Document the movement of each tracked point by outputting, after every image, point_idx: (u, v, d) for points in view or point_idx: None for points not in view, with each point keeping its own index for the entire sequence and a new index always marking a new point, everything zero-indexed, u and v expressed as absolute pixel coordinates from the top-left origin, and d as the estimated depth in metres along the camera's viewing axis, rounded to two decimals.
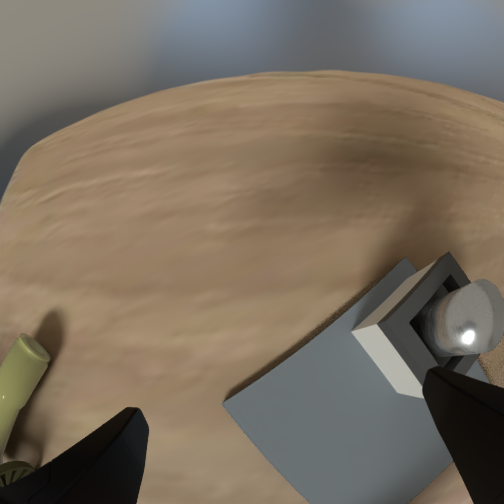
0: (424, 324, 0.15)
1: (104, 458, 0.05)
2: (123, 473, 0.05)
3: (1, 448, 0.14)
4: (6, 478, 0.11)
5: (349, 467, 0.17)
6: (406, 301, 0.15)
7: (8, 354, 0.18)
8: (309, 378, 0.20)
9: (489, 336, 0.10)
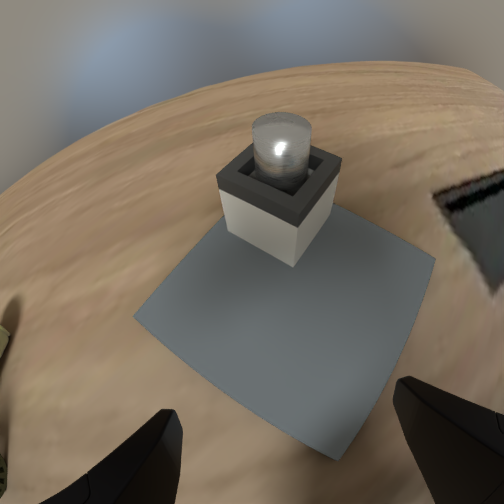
0: (255, 171, 0.21)
1: (146, 465, 0.05)
2: (163, 479, 0.05)
3: None
4: None
5: (274, 353, 0.20)
6: (232, 161, 0.21)
7: None
8: (200, 274, 0.24)
9: (291, 134, 0.17)
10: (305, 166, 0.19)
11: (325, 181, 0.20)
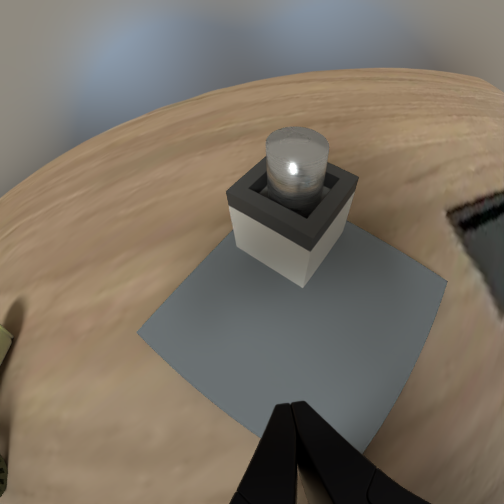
0: None
1: (296, 464, 0.05)
2: None
3: None
4: None
5: (280, 377, 0.19)
6: (243, 177, 0.20)
7: None
8: (207, 291, 0.23)
9: (307, 153, 0.16)
10: (320, 186, 0.18)
11: (340, 202, 0.19)
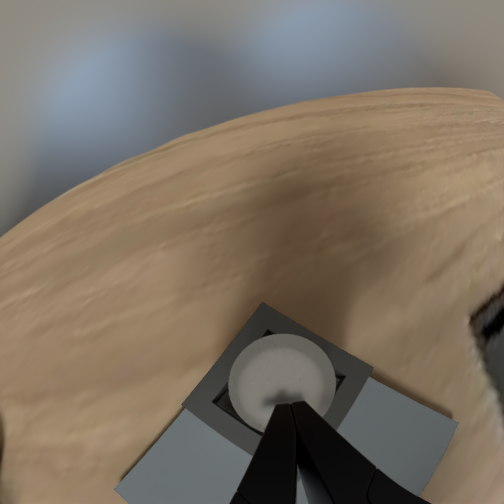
0: None
1: (296, 464, 0.05)
2: None
3: None
4: None
5: None
6: (204, 378, 0.13)
7: None
8: (180, 461, 0.16)
9: None
10: None
11: (342, 419, 0.12)
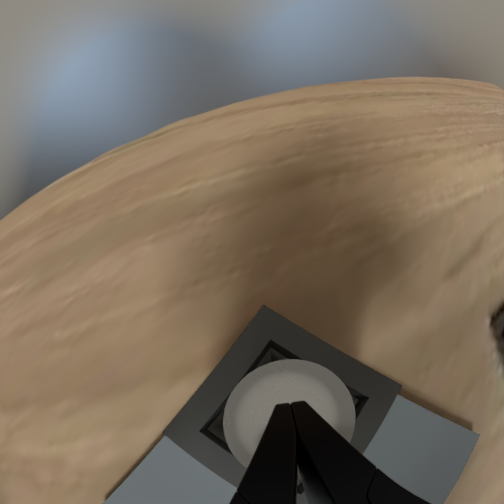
0: None
1: (296, 464, 0.05)
2: None
3: None
4: None
5: None
6: (189, 401, 0.10)
7: None
8: (169, 483, 0.13)
9: None
10: None
11: (363, 449, 0.08)
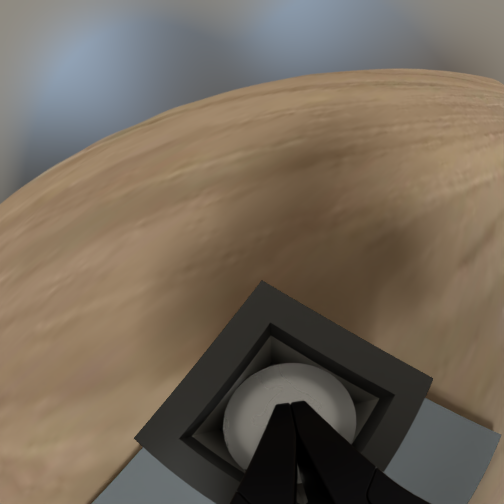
0: None
1: (296, 464, 0.05)
2: None
3: None
4: None
5: None
6: (168, 401, 0.08)
7: None
8: (154, 494, 0.10)
9: None
10: None
11: None
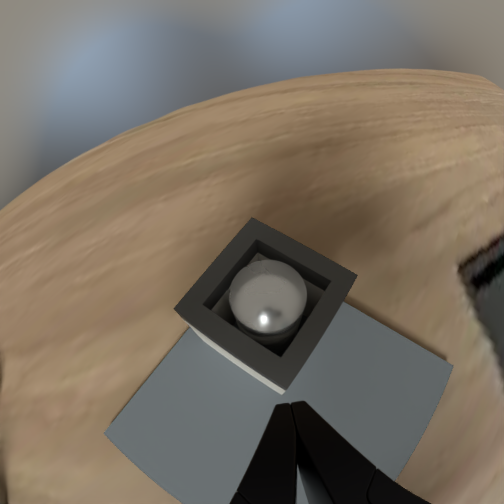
0: None
1: (296, 464, 0.05)
2: None
3: None
4: None
5: None
6: (196, 283, 0.15)
7: None
8: (171, 396, 0.18)
9: (278, 312, 0.14)
10: (296, 329, 0.16)
11: None
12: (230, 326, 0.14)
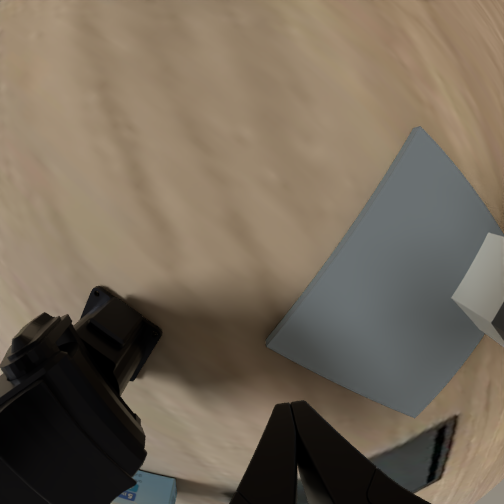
0: None
1: (296, 464, 0.05)
2: None
3: None
4: None
5: (385, 283, 0.19)
6: None
7: None
8: (458, 205, 0.18)
9: None
10: None
11: None
12: None
